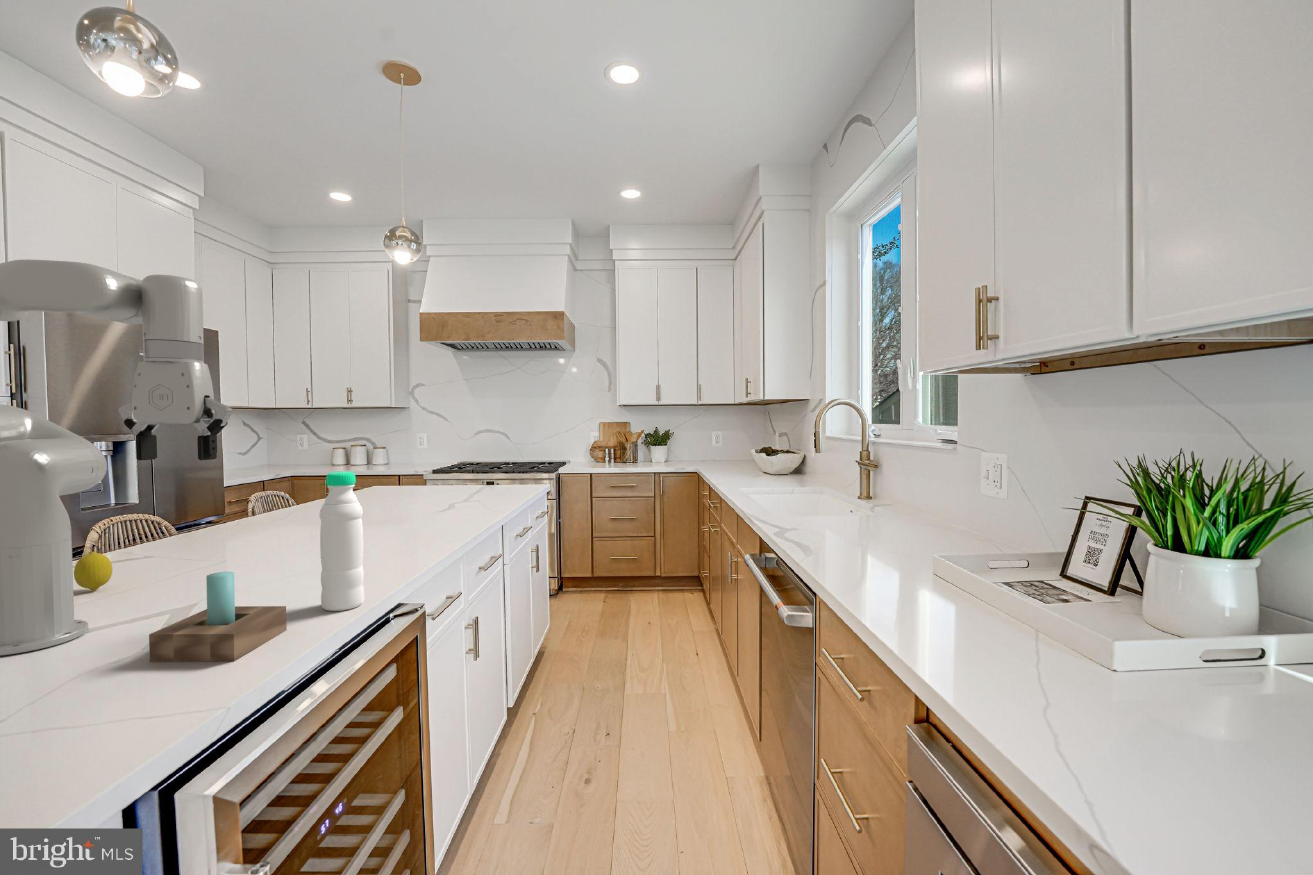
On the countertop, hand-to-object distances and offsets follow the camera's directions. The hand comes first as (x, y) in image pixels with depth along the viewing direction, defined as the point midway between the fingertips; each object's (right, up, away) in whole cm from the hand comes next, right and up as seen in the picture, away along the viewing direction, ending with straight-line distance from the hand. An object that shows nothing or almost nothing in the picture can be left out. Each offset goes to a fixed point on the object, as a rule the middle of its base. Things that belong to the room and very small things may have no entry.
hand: (177, 459), depth 93 cm
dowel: (+11, -29, -5) cm, 31 cm away
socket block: (+11, -29, -5) cm, 31 cm away
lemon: (-36, -28, +22) cm, 50 cm away
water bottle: (+20, -28, +13) cm, 37 cm away
